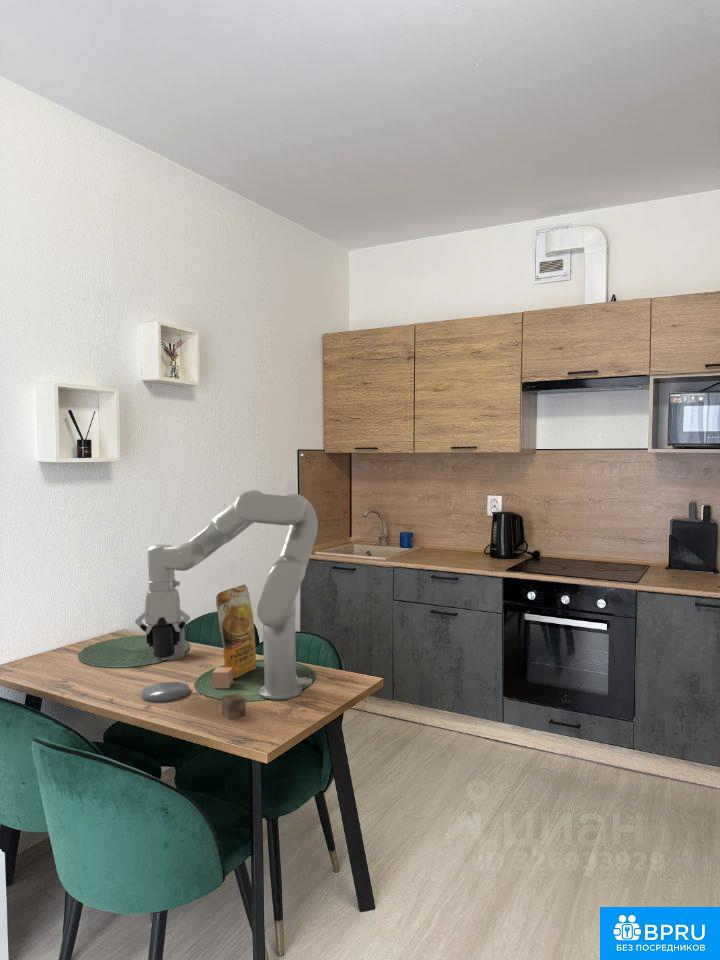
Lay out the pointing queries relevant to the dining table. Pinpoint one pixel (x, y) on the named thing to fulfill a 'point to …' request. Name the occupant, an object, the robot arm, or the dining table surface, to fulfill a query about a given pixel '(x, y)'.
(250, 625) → the pancake mix bag
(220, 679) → the terracotta block
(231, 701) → the walnut block
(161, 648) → the supplement bottle
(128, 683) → the dining table surface
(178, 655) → the pillar candle
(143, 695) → the charcoal plate
